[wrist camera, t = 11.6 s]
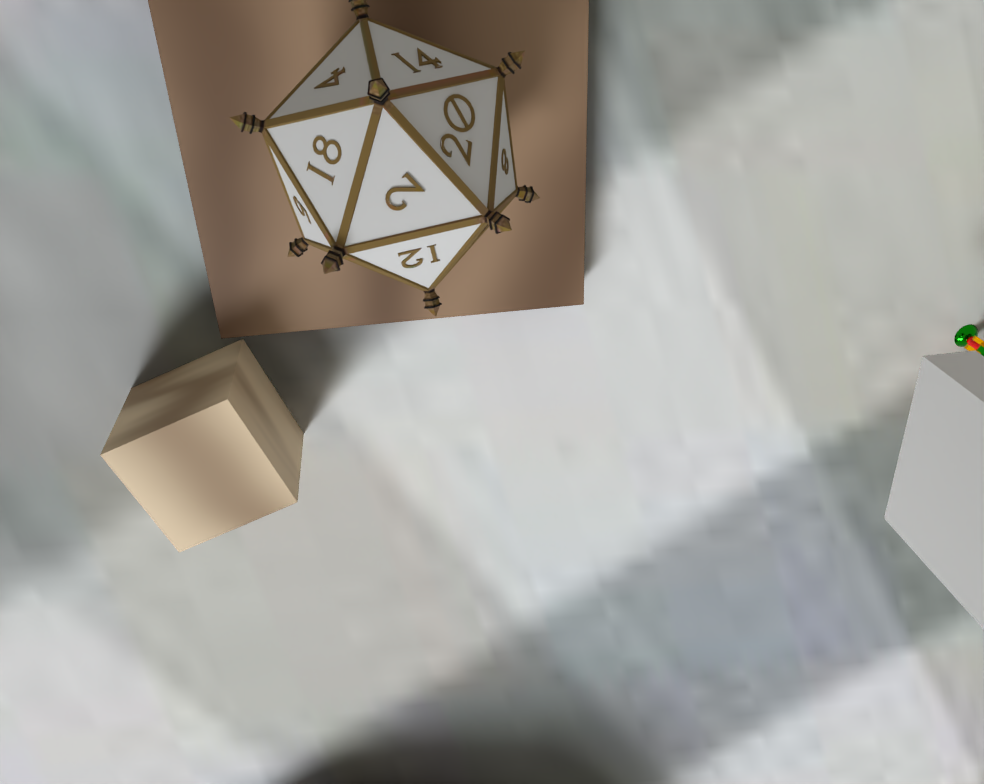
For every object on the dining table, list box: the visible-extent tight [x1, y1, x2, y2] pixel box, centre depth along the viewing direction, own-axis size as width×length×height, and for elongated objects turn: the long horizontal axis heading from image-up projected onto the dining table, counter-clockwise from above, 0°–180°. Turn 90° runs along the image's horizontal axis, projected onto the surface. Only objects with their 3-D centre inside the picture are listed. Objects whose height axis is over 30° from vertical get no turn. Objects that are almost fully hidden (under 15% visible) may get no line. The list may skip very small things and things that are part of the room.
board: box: [148, 0, 589, 339], centre depth 30 cm, size 14×14×2 cm
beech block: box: [101, 339, 304, 552], centre depth 33 cm, size 5×5×5 cm
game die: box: [229, 0, 540, 317], centre depth 26 cm, size 9×8×10 cm
